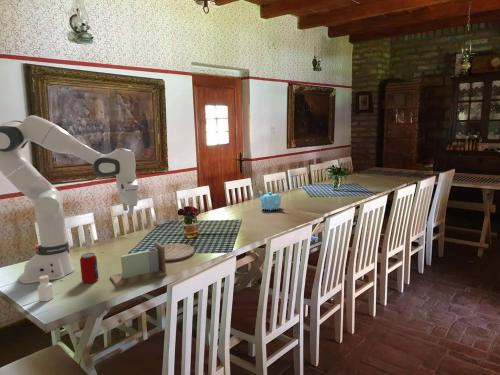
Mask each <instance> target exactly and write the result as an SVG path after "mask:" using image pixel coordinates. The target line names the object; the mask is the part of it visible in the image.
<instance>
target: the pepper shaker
mask: <svg viewBox="0 0 500 375" xmlns="http://www.w3.org/2000/svg"><path fill="white" fill-rule="evenodd" d="M39 279H40V282H39V285H38V286H37V294H38V301H40V302H49V301H51V300H52V299H54V296H55V295H54V288H53V283H52V282H49V281H50V280H49V277H48V276H47V275H45V276H41V277H39Z"/></svg>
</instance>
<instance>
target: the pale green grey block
mask: <svg viewBox="0 0 500 375" xmlns="http://www.w3.org/2000/svg"><path fill="white" fill-rule="evenodd" d="M152 248H153V249H151V248H149V249H147V250H146V249H145V250H143V251H139V252H138V251H137V252H133V253H126V254H123V255H120V263H121V273H122V277H123V278H124V279H125V278H129V277H133V276H137V275H142V274H146V273H150V272H151V273H153V272H157V271H159V260H158V250H157V249H156V248H154V247H152Z"/></svg>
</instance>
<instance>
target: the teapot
mask: <svg viewBox="0 0 500 375" xmlns="http://www.w3.org/2000/svg"><path fill="white" fill-rule="evenodd" d="M259 194H260V196H259V200H260V202H259V206H260V208H261V209H262V210H263V209H266V210H268V211H269V210H272V211H273V210H275V209H278V210H279V208H280V207H281V203H282V196H283V195H282V194H281V195H279V194H278V193H273V192H272V191H270V192H269V191H268V192H267V193H266V194H263V192H262V191H261V190H259Z"/></svg>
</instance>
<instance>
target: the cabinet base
mask: <svg viewBox="0 0 500 375" xmlns="http://www.w3.org/2000/svg"><path fill="white" fill-rule="evenodd" d="M162 245H163V244H160V243H159V242H158V241H154V247H155V248H156V249H157V250H158V260H159V271H157V272H153V273H151V272H150V273H146V274H142V275H137V276H133V277H129V278H125V279H124V278H123V277H122V272H121V273H116V274H112V275H110V276H109V278H110V280H111V281H112V282H113V284H114V285H115V287H116V288H119V287H123V286H124V287H125V286H128V285H132V284H136V283H140V282H144V281H147V280H152V279H156V278H160V277H164V276H167V275H168V274H167V270H166V269H167V268H166V263H165V251H164V246H162Z"/></svg>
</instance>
